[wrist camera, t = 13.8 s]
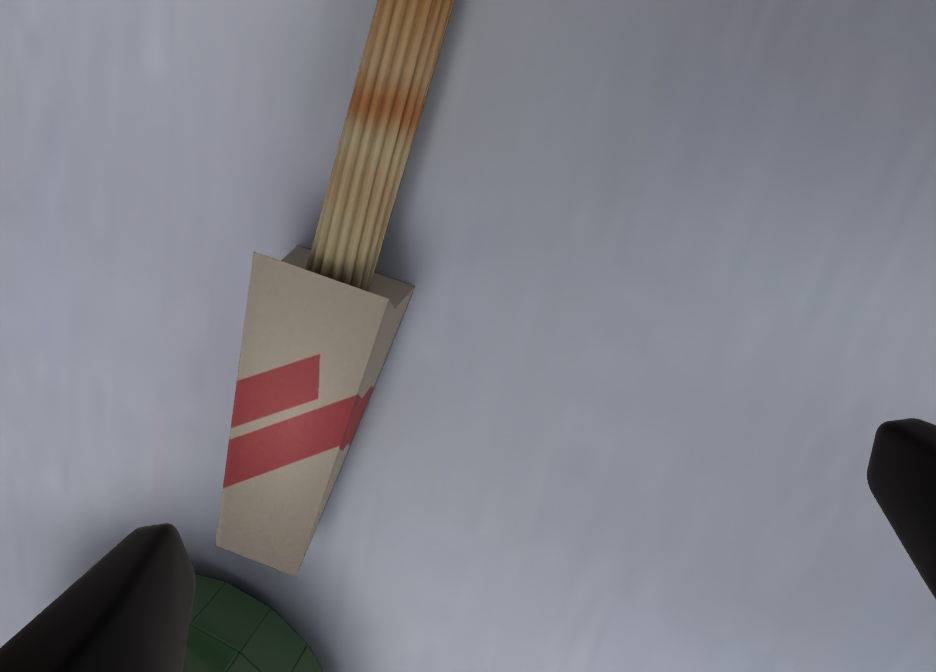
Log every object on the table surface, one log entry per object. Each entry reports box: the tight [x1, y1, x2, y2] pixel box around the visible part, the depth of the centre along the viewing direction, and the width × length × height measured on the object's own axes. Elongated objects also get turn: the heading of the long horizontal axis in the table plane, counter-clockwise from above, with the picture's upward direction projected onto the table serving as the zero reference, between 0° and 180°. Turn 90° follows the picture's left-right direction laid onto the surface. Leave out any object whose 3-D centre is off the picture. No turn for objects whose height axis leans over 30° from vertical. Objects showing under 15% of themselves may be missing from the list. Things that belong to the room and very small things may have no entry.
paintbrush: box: [216, 0, 454, 577], centre depth 19 cm, size 4×3×20 cm
